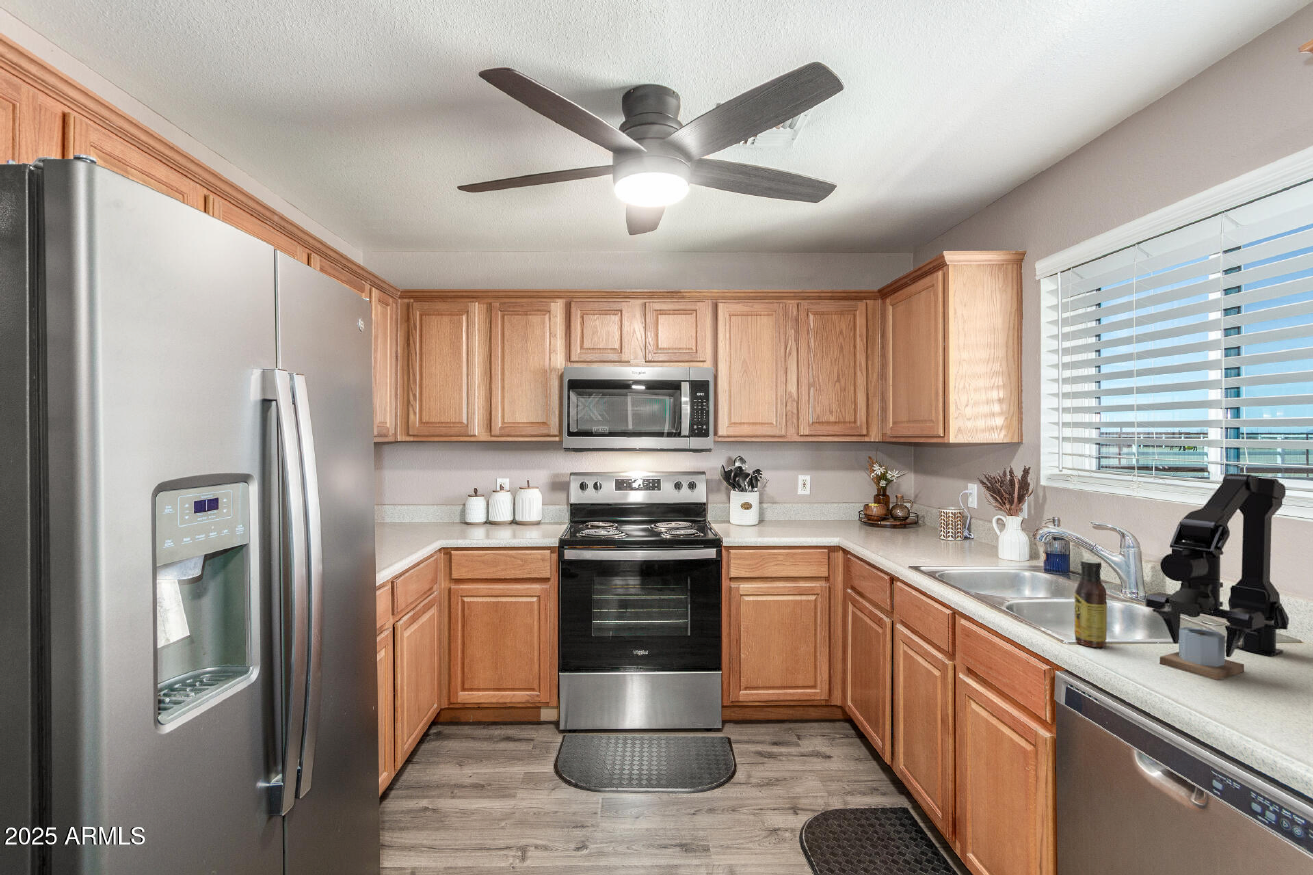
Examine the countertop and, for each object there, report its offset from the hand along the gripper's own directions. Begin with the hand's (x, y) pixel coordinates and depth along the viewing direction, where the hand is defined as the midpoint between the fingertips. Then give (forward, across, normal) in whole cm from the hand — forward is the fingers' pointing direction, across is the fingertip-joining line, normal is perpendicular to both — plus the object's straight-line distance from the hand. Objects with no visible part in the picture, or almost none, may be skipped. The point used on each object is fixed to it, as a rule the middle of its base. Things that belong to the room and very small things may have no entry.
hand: (1201, 649), depth 134 cm
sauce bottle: (+4, -19, -6) cm, 20 cm away
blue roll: (+2, 0, 0) cm, 2 cm away
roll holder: (+4, 0, 0) cm, 4 cm away
